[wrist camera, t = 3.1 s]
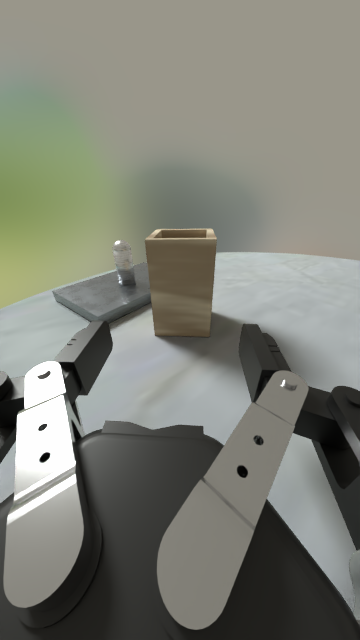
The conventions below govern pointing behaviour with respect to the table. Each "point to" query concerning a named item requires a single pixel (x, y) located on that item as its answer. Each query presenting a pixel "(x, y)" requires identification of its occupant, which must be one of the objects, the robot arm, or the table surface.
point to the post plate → (110, 289)
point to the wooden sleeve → (181, 280)
